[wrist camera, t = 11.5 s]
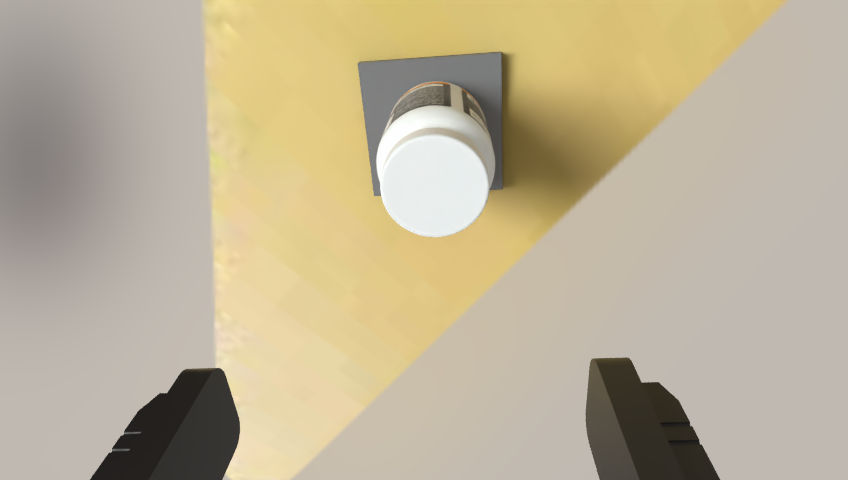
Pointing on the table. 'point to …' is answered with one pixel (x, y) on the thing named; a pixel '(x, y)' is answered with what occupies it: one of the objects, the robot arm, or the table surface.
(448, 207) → the pill bottle
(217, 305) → the table surface
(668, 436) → the robot arm
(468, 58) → the coaster
